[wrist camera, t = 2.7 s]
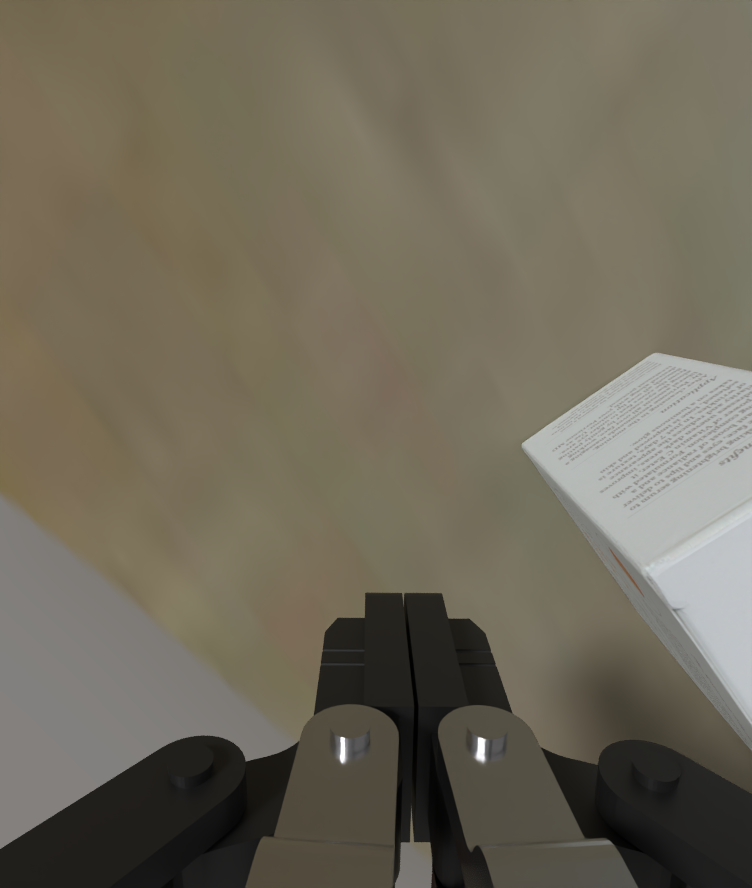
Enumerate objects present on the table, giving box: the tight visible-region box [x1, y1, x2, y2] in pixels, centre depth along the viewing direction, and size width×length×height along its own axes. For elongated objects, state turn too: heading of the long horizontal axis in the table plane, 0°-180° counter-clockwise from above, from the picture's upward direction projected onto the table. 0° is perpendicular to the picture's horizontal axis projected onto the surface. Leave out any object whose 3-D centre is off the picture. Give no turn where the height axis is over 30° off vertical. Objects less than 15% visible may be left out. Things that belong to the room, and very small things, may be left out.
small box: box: [522, 353, 752, 751], centre depth 17 cm, size 8×6×10 cm
